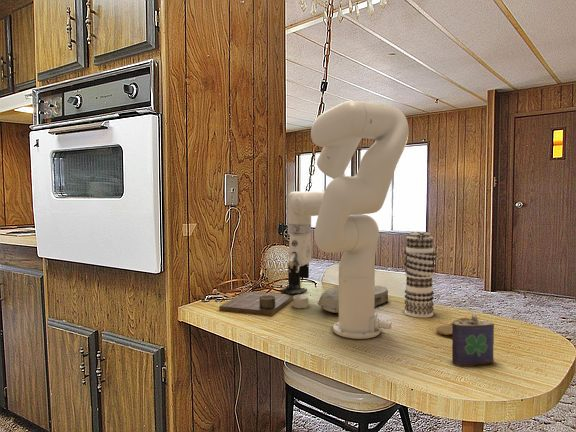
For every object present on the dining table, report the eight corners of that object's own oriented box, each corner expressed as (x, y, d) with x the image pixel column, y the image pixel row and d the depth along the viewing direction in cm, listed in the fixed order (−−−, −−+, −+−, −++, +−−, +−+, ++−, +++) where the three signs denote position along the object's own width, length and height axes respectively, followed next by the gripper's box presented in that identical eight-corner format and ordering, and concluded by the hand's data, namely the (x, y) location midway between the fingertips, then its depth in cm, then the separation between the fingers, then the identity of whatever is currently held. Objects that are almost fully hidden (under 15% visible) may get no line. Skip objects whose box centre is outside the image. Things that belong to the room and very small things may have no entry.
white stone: (310, 304, 137) (310, 295, 137) (305, 308, 133) (305, 299, 132) (295, 303, 139) (295, 294, 139) (290, 307, 134) (290, 298, 134)
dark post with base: (294, 296, 149) (293, 263, 148) (279, 292, 154) (278, 260, 153) (310, 291, 155) (310, 259, 154) (295, 288, 160) (295, 257, 160)
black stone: (277, 305, 132) (277, 296, 131) (271, 309, 127) (271, 300, 127) (263, 303, 133) (263, 294, 133) (256, 308, 129) (256, 298, 128)
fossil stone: (339, 319, 122) (339, 301, 121) (305, 308, 133) (305, 292, 132) (395, 301, 140) (395, 286, 140) (361, 293, 151) (361, 279, 151)
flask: (489, 359, 92) (490, 312, 91) (497, 364, 89) (498, 316, 89) (449, 361, 91) (450, 314, 91) (456, 367, 88) (456, 318, 88)
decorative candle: (419, 319, 120) (420, 234, 119) (396, 311, 129) (397, 231, 127) (441, 315, 125) (442, 232, 123) (418, 307, 133) (419, 230, 131)
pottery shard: (480, 347, 102) (484, 326, 111) (479, 332, 101) (483, 312, 109) (435, 342, 108) (442, 322, 116) (433, 327, 107) (441, 308, 115)
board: (293, 299, 144) (293, 295, 144) (271, 316, 125) (271, 311, 125) (246, 295, 150) (246, 291, 150) (219, 310, 132) (219, 305, 132)
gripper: (302, 233, 125) (301, 288, 126) (318, 227, 141) (317, 276, 143) (279, 232, 128) (279, 286, 129) (297, 226, 144) (297, 274, 145)
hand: (299, 281), depth 136 cm, fingers open, 9 cm apart
